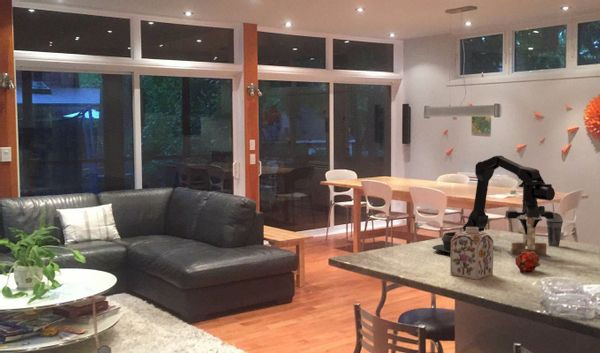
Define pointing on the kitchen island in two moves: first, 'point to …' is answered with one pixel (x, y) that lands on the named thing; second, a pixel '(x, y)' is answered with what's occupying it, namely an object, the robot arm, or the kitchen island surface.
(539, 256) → the rubber mat
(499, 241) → the kitchen island surface
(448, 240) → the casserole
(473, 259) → the decorative jar
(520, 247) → the walnut board
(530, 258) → the dragon fruit
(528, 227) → the upright wooden plank
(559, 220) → the beverage cup
